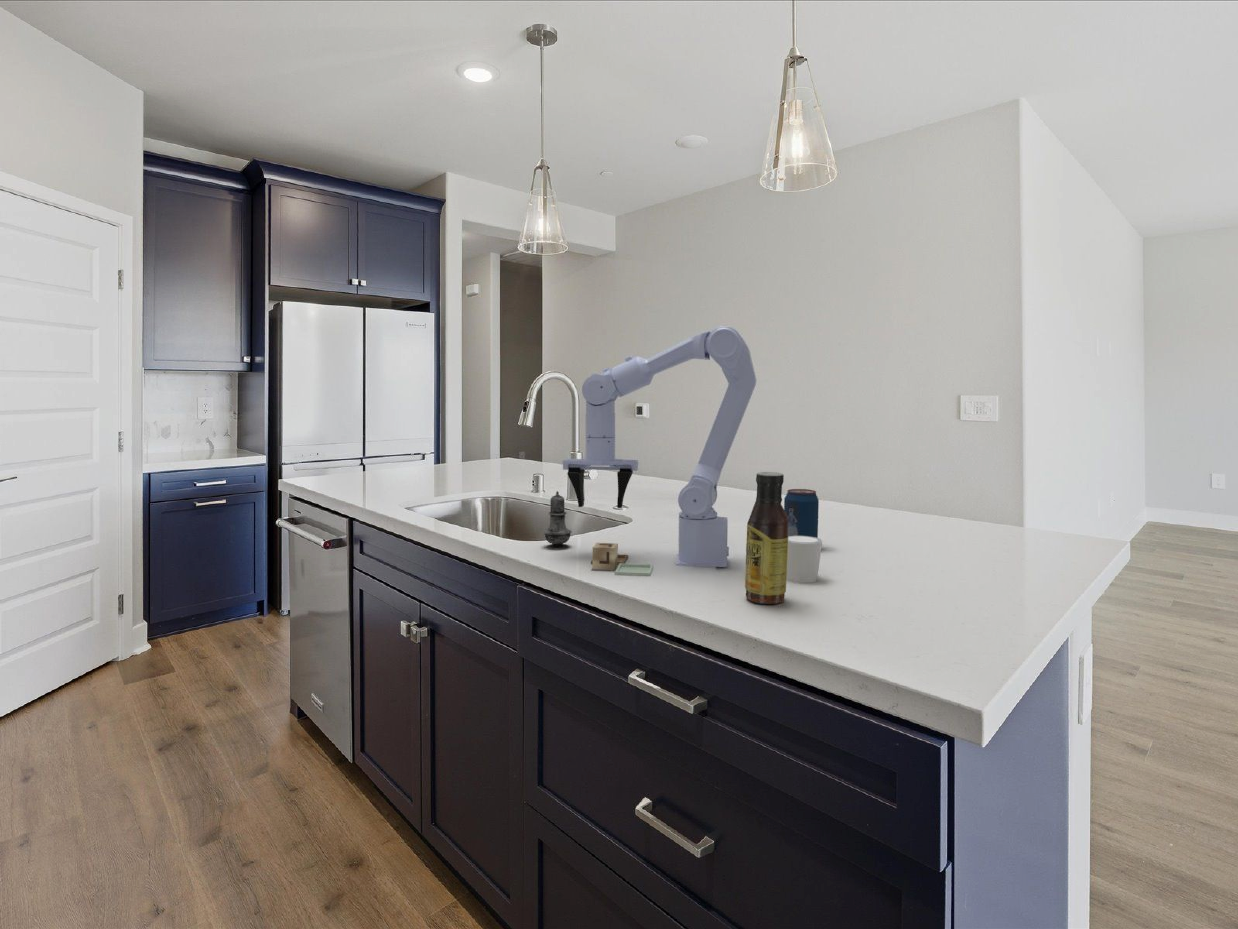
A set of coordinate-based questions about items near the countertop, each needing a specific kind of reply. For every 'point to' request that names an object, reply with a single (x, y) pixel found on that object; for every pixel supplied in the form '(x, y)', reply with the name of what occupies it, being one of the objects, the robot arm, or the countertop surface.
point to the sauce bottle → (767, 542)
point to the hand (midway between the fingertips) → (600, 506)
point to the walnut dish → (619, 559)
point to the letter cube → (605, 556)
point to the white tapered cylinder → (803, 558)
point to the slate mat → (603, 570)
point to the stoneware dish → (634, 569)
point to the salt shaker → (557, 524)
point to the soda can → (802, 512)
